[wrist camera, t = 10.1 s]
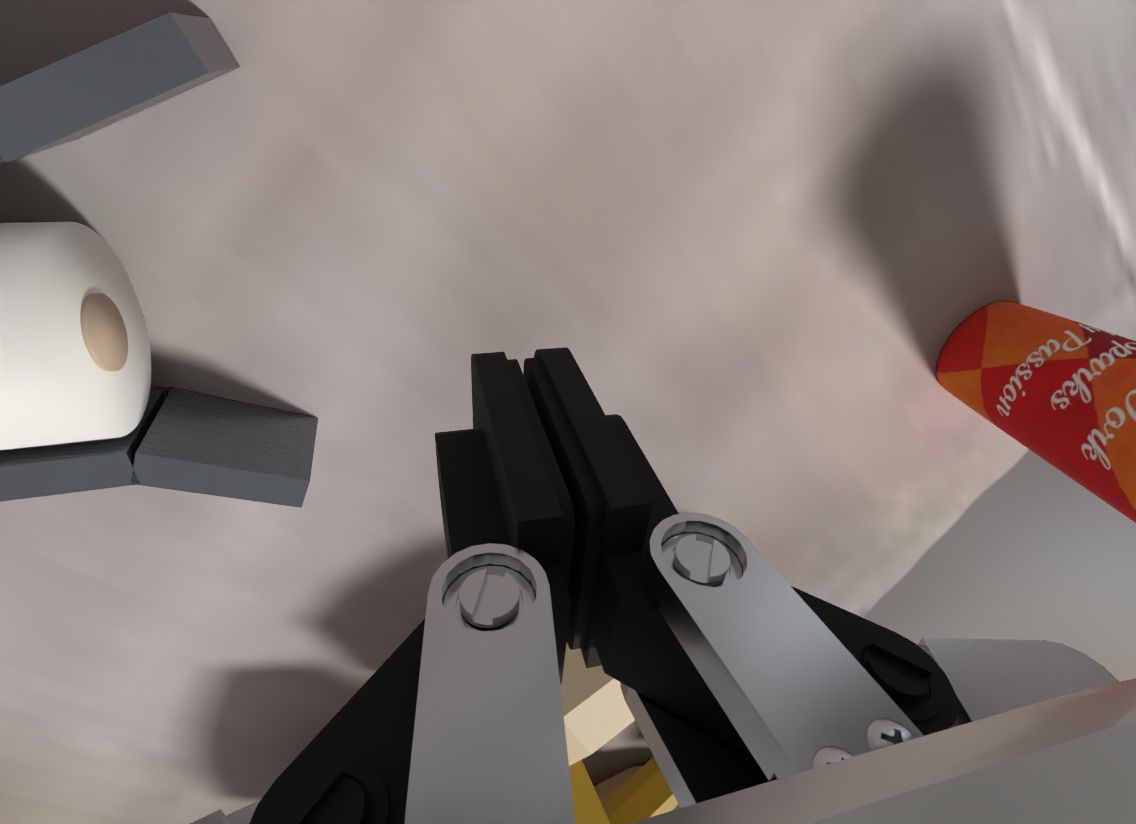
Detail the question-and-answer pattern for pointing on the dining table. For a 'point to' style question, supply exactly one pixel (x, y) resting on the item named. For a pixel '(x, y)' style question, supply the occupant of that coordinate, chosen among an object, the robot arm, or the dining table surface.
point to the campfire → (588, 726)
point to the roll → (68, 338)
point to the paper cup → (1052, 392)
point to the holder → (170, 422)
